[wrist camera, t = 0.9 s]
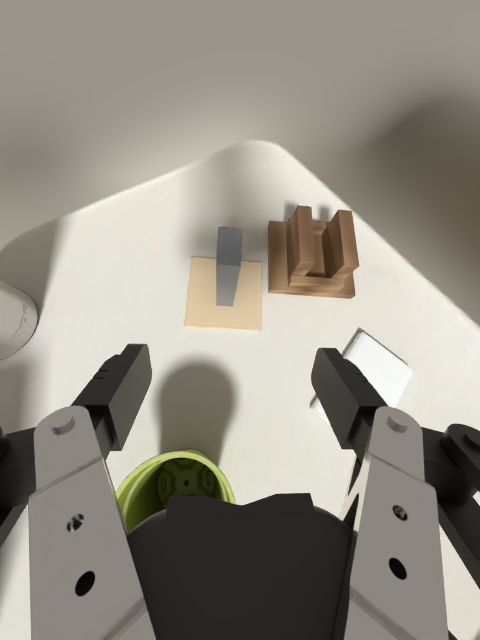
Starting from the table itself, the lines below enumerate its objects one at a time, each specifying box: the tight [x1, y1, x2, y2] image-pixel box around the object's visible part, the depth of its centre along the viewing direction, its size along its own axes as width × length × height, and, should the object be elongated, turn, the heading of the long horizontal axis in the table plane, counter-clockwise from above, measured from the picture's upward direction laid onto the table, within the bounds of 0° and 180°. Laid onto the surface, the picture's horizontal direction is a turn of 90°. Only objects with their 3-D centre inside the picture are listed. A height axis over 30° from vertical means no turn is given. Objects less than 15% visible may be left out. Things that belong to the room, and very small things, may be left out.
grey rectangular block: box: [216, 227, 242, 307], centre depth 26 cm, size 2×4×10 cm, turn 178°
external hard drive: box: [310, 332, 413, 425], centre depth 29 cm, size 2×8×12 cm
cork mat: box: [184, 257, 262, 331], centre depth 31 cm, size 10×10×1 cm
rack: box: [268, 205, 359, 299], centre depth 31 cm, size 12×11×6 cm
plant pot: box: [116, 449, 236, 533], centre depth 20 cm, size 9×9×9 cm
